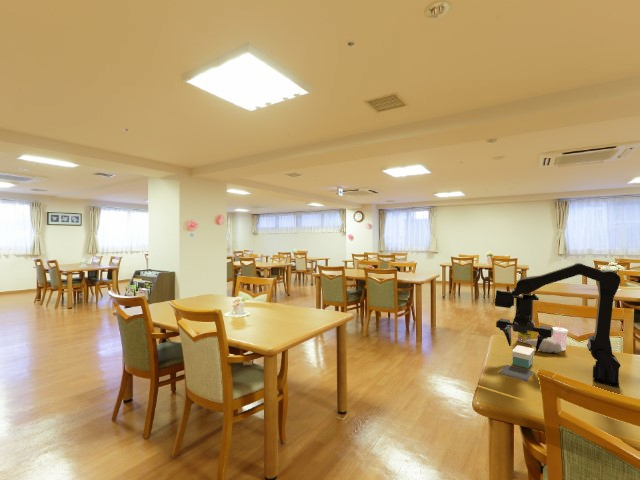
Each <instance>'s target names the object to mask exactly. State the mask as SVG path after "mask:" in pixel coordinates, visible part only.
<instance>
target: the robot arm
mask: <svg viewBox="0 0 640 480" xmlns="http://www.w3.org/2000/svg"><path fill="white" fill-rule="evenodd" d="M576 276H583V277H586V278H589V279H591V280H594V281H596V287H597V293H598V300H597V309H596V310H597V311H596V319H595V327H594V333H593V335H590V334H589V335H587V339H588V340H587V344H586V347H587V350H588V351H589V352H590V355H591V356H592V358H593V359H594V360H595V364H593V365H592V378H593V381H594V382H595V383H599V384H603V385H608V386H611V387H615V388H619V387H620V380H619V379H620V378H619V377H620V375H619V374H620V368H621V363H620V362H619V359H618V358H617V356H616V355H614V354H613V349H612V343H611V337H610V334H611V326H612V316H613V307H614V297H615V296H616V294H617V292H618V290H619V288H620V287H619V286H620V284H621V281H622V279H621V277H620V275H619V274H618V273H617V272H615V271H613V270H610V269H598V268H595V267H592V266H589V265H585V264H584V263H581V262H576V263H574V264H572V265H569V266H566V267H563V268H562V267H561V268H559V269H556V270H553V271H549V272H547V273H544V274H541V275H532V276H525V277H521V278H520V279H518V280H517V282H516V285H515V288H512V290H511V291H507V290H506V291H505V290H501V289H496V290H495V298H494V307H498V308H507V309H511V308H512V307H514V306H515V314H514V318H513V320H512V322H511V320H510V319H508V318H499V319H498V320H496V322H495V327H496V328H498V329H499V330H500V331H502V332H503V333H504V335H505V337H506V341H507V344H508V346H510V347H511V346H512V331H513V332H517V333H518V332H522V333H527V331H533V332H534V333H538V335H537V338H536V339H537V345H536V348H535V352H536V353H538V352H539V347H540V345H541V343H542V341H543V339H550V338H552V335H553V328H552V327H553V326H547V325H540V326H539V327H538V326H535V327H534V323H535V322H534V320H533V315H534V301H540V299H539V297H538V296H537V295H536V293H535V291H536V290H539V289H540V288H542V287H544V286H546V285H550V284H554V283H556V282H559V281H560V282H561V281H564V280H566V279H570V278H573V277H576ZM532 292H533V293H532ZM531 293H532V294H531Z"/></svg>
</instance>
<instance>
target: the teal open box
mask: <svg viewBox="0 0 640 480" xmlns="http://www.w3.org/2000/svg"><path fill="white" fill-rule="evenodd" d="M533 363H534V355H533V356H532V358H531V359H530V360H526V359H522V358H518V357H514V356H512V366H515V367H518V368H522V369H526V370H529V369H530V367H531V366H532V365H533Z"/></svg>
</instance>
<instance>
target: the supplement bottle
mask: <svg viewBox="0 0 640 480" xmlns="http://www.w3.org/2000/svg"><path fill="white" fill-rule="evenodd" d="M534 327H536V324H535V322H534ZM521 339H522V340H521ZM532 339H535V332H533V331H527V333H522V332H517V340H518V342H521V343H523V344H529V343H527V342H525V341H523V340H532ZM529 345H530V344H529Z"/></svg>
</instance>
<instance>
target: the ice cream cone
mask: <svg viewBox="0 0 640 480" xmlns="http://www.w3.org/2000/svg"><path fill="white" fill-rule="evenodd" d="M523 341H525V342H527V343H526V344H528V343H529V345H530V346H532V347H534V349H536V345H537V338H534V339H532V340H523ZM538 351H541V352H542V353H549V354H550V353H553V354H554V353H555V354H559V353H560V352H562V350H561V346H560V344H558V343H556V342H553V340H551V339H549V338H547V339H543V341H542V343H541V345H540V347H539V349H538Z"/></svg>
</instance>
